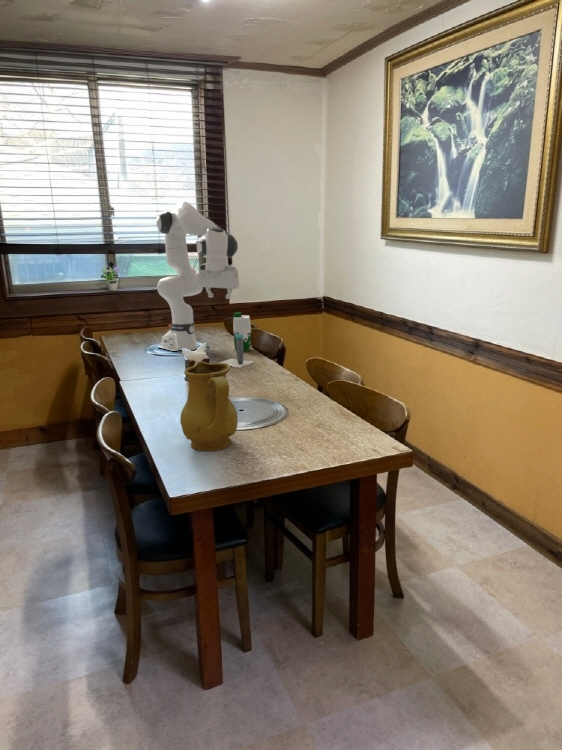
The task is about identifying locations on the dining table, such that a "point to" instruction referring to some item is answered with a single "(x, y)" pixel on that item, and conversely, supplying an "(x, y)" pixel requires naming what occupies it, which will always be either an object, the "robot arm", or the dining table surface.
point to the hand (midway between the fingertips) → (219, 298)
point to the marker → (240, 348)
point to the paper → (236, 363)
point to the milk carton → (242, 330)
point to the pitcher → (208, 407)
